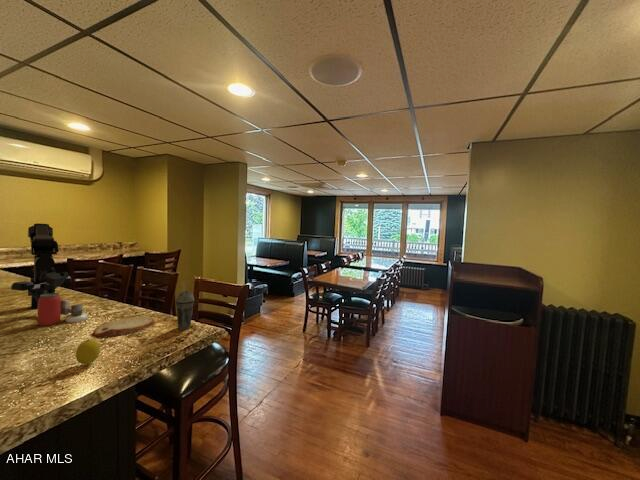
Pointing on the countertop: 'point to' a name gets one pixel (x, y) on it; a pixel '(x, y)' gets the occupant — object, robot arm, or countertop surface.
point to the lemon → (87, 352)
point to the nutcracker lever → (67, 306)
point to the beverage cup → (184, 309)
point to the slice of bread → (123, 326)
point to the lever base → (76, 318)
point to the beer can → (49, 309)
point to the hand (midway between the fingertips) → (43, 301)
